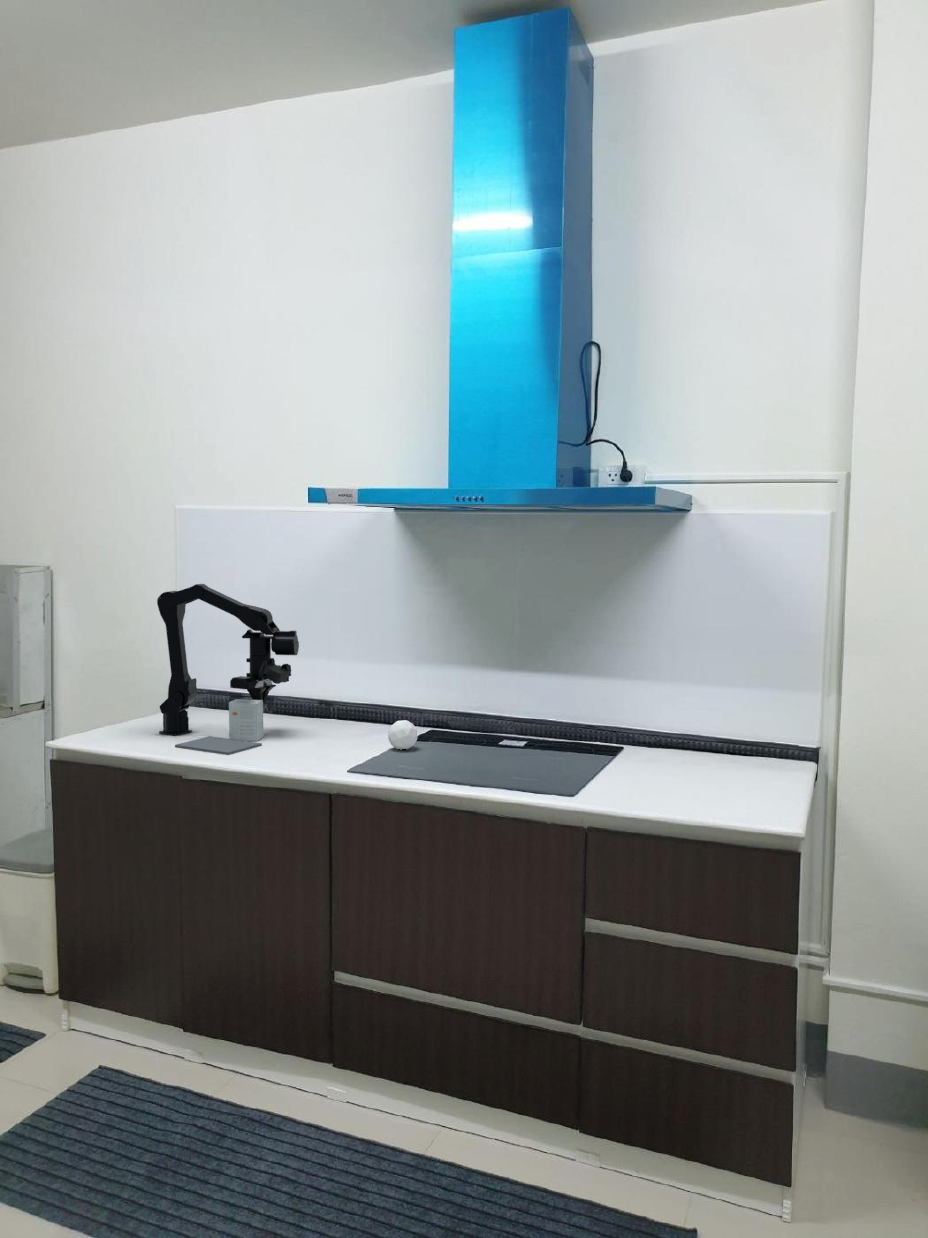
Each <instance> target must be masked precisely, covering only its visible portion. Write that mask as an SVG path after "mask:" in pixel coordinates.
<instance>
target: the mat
mask: <svg viewBox="0 0 928 1238" xmlns="http://www.w3.org/2000/svg"><path fill="white" fill-rule="evenodd" d="M261 746H263V744H262V742H257V741H241V740H234V739H229V738H226V737H219V736H211V735H209V736H205V737H201V738H197V739H193V740H189V741H184V742H181V743H177V744H174V748H179V749H185V750H186V749H187V750H192V751H198V752H199V751H200V752H208V753H212V754H220V755H221V754H222V755H227V756H229V755H234V754H236V753H240V752H244V751H248V750H252V749H253V748H258V747H261Z"/></svg>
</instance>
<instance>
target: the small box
mask: <svg viewBox="0 0 928 1238" xmlns="http://www.w3.org/2000/svg"><path fill="white" fill-rule="evenodd" d="M264 728H265V727H264V708H263V700H253V699H242V698H241V699H238V698H237V699H236V698H235V699H234V700H233V699H232V701H229V702H228V729H229V730H228V732H229V734H228V735H229V736H228V737H229V738H228V739H234V740H241V741H249V742H258V741H260V740H262V739H263V738H264V735H265V734H264Z"/></svg>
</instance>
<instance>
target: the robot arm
mask: <svg viewBox="0 0 928 1238" xmlns="http://www.w3.org/2000/svg"><path fill="white" fill-rule="evenodd" d="M198 600H199V601H202V602H205V603H206V604H209V606H213V607H215V608H217V609H219V610H221V611H224V612H225V613H227V614H229V615H232V616H233V617H235V618H236V619H238V620H239V621H240V622H241V623H242V624H244V625H245V626H246V627H248V628H249V629H247V630H246V632H245V633H244V634H243V635H242V636H241V638H242V639H249V657H248V658H246V659H245V660H246V663H249V672H246V674H245V675H246V676H243V675H241V676H234V677H232V678H231V679H230V680H229V682H230V684H229V685H230V686H229V687H230V689H239V690H247V692H248V694H249V695H250V698H251V700H263V709H264V708H265V704H266V702H267V698H268V696H269V693H270V691H271V690H273V689H274V688H276V687H277V685H279V684H281V683H288V682H289V681H290V677H291V676H292V666H291V665H290V664H289V663H283V664H281V665H280V664H278V665H277V664H276V660H275V658H274V657H272V653H271V651H272V652H273V653H274V654H275V655H276V656H298V654H299V650H300V649H299V648H300V642H299V639H298V638H299V637H298V635H297V632H298V631H297V630H280V628H279V627H278V626H277V624H276V623H275V621H274V619H273V614H272V612H271V611H269V610H268V609H266V608H264V607H263V608H262V607H259V606H257V605H256V606H255V605H251V604H246V603H243V602H241V601H238V600H236V599H234V598H233V597H230V596H228V595H226V594H224V593H222V592H220V591H217V590H216V589H213V588H212V587H209V586H208V585H206V584H205V583H196V584H193V585H192V586H190V587H187V588H184V589H180V590H170V591H165V592H162V593H161V594H160V595H159V596H158V597H157V600H156V604H157V607H158V612H159V615H160V617H161V618H162V622H164V624H165V630H166V631H165V632H166V639H167V648H168V649H167V650H168V658H169V659H168V660H169V666H170V678H169V679H170V680H169V683H168V686H167V687H168V688H167V689H168V692H167V698H166V699H165V700H164V701H163V702H162V703H161V704H160V705H159V710H160V712H161V714H162V727H163V729H162V730H160V731H159V732H158V733H159V734H162V735H168V736H169V735H170V736H179V735H183V734H188V733H192V732H193V730H192V729H189V726H190V725H189V724H190V723H189V720H190V719H189V716H188V715H189V714H188V709H189V708H190V706H191V704H192V703H193V702H194V700H196V697H197V693H198V692H199V690H198V688H197V683H198V682H197V678H196V677H195V678H192V677H191V676H190V673H189V670H188V662H187V661H188V659H187V652H186V651H187V650H186V643H185V632H184V626H183V624H184V618H185V614H186V605H187V604H190V603H193V602H195V601H198ZM276 684H277V685H276Z"/></svg>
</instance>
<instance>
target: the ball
mask: <svg viewBox="0 0 928 1238" xmlns="http://www.w3.org/2000/svg"><path fill="white" fill-rule="evenodd" d="M387 736H388V737H387V739H388V741H389V743H390V745H391V747H393V748H395V749H396V750H398V749H400V750H399V751H403V750H402V749H406V750H409V749H410V748H412V747H413V746H414V745H415V744H416V742H417V740H418V730H417V728H416V727H415V725H414V724H413V723H412V722H410V721H409V720H406V719H404V720H397V721H395V722H394V723H393V724H392V725H391V726H390V727H389V729H388V731H387Z"/></svg>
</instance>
